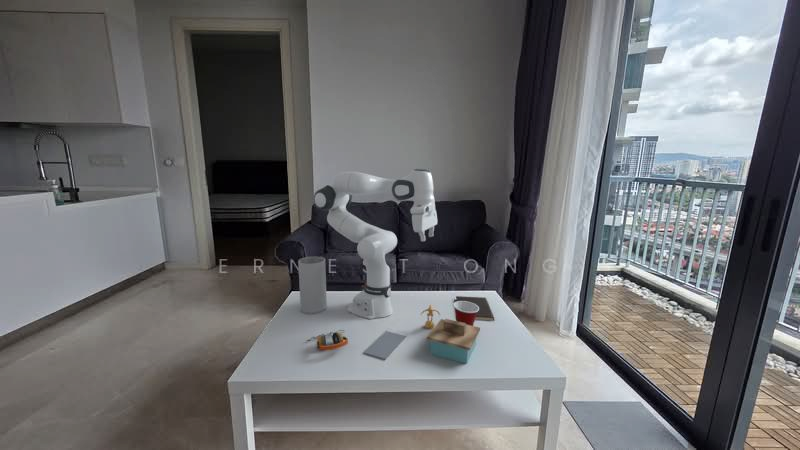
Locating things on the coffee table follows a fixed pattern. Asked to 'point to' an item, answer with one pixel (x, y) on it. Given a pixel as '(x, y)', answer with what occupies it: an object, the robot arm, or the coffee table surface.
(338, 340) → the headphones
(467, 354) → the open box
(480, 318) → the hardcover book
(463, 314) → the plastic cup
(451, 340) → the lid
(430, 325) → the figurine
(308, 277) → the cylinder vase
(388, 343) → the mat
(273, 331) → the coffee table surface
